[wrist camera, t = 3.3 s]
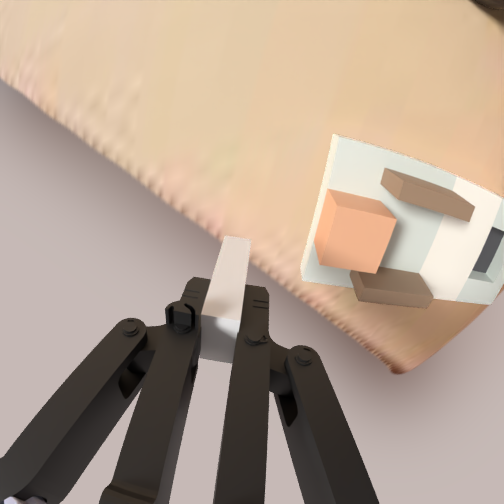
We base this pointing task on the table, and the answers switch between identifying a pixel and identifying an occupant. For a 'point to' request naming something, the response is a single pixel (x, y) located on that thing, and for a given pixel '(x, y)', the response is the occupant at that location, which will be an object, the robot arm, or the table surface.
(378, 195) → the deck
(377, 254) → the block
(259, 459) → the robot arm
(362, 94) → the table surface
